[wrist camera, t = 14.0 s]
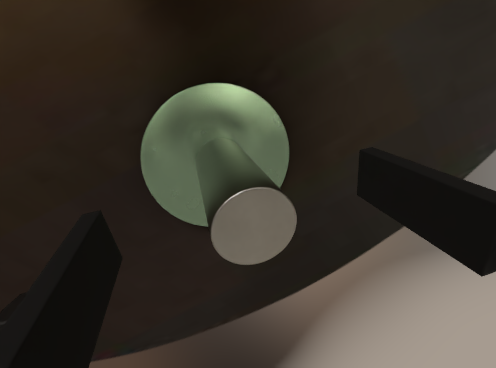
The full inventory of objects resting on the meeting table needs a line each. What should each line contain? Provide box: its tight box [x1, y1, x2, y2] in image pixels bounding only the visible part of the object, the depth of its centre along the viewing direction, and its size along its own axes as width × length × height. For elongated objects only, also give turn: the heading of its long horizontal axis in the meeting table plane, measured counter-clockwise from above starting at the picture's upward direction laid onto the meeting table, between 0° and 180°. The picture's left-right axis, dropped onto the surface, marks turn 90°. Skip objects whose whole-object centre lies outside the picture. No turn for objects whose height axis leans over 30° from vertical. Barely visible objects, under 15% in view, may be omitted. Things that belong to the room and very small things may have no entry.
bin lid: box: [140, 82, 297, 265], centre depth 16 cm, size 12×12×11 cm
